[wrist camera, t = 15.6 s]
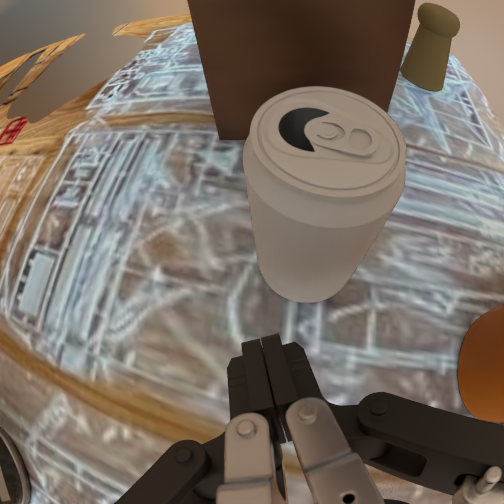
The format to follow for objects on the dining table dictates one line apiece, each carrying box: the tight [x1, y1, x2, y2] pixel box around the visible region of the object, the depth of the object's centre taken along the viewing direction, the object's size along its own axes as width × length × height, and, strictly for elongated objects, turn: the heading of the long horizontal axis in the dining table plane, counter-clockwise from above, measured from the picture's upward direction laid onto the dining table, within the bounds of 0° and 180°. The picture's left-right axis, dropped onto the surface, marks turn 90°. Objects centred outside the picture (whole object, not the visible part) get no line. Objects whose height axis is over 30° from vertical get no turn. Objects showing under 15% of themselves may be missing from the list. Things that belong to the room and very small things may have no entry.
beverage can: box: [243, 86, 407, 303], centre depth 15 cm, size 6×6×12 cm
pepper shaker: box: [401, 3, 460, 91], centre depth 24 cm, size 6×6×11 cm
